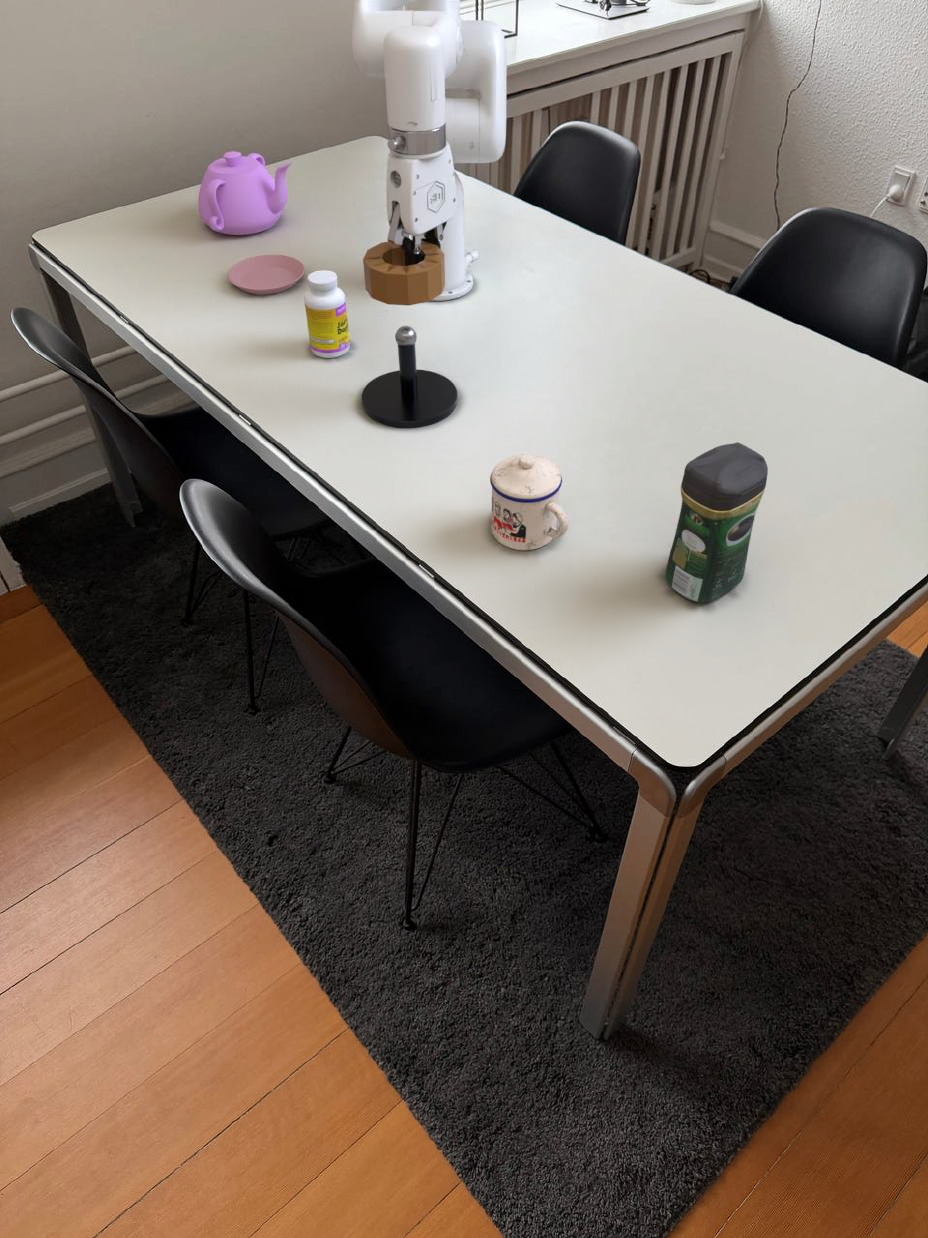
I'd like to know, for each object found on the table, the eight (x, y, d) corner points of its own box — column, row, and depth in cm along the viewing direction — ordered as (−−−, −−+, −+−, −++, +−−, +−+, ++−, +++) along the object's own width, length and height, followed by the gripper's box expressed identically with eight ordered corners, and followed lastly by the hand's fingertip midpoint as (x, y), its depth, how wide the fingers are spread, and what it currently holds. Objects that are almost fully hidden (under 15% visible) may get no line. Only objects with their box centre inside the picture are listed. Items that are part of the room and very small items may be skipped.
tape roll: (401, 262, 140) (399, 232, 137) (459, 283, 135) (459, 252, 132) (351, 290, 134) (347, 259, 131) (410, 312, 129) (408, 281, 126)
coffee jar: (704, 548, 123) (730, 427, 110) (751, 580, 118) (785, 458, 105) (651, 579, 119) (673, 458, 106) (699, 614, 114) (727, 492, 101)
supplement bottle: (344, 361, 157) (335, 287, 148) (306, 357, 158) (295, 284, 149) (355, 341, 161) (347, 268, 152) (318, 337, 162) (308, 265, 153)
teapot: (275, 254, 186) (263, 182, 176) (180, 239, 191) (163, 168, 181) (324, 211, 200) (316, 141, 190) (235, 198, 206) (222, 130, 196)
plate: (285, 304, 171) (283, 293, 170) (215, 293, 175) (213, 282, 173) (318, 269, 181) (317, 259, 179) (251, 260, 184) (250, 250, 183)
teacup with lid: (475, 528, 126) (475, 456, 118) (525, 500, 130) (528, 429, 122) (538, 574, 120) (542, 501, 111) (587, 542, 124) (595, 470, 116)
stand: (404, 365, 156) (400, 293, 147) (476, 395, 149) (476, 322, 140) (342, 406, 147) (333, 332, 138) (415, 439, 141) (411, 364, 132)
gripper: (398, 162, 118) (406, 301, 131) (478, 125, 126) (478, 259, 140) (354, 149, 121) (366, 286, 134) (434, 114, 130) (438, 246, 143)
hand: (423, 271), depth 137 cm, fingers closed on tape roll, 3 cm apart
